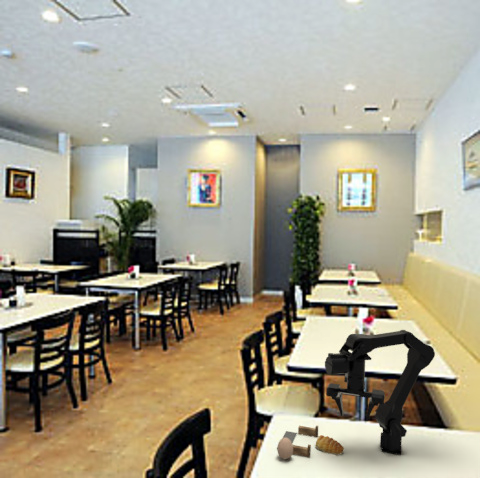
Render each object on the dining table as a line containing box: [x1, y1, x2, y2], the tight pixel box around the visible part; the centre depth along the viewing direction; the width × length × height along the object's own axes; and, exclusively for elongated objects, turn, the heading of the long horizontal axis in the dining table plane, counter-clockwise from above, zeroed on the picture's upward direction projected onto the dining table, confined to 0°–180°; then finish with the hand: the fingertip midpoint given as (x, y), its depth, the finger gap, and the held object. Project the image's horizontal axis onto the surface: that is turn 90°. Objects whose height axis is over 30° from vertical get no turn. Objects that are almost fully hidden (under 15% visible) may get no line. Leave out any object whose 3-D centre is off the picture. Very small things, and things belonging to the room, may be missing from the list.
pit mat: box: [282, 430, 298, 444], centre depth 163 cm, size 4×14×1 cm, turn 161°
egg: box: [276, 437, 294, 460], centre depth 151 cm, size 5×5×7 cm
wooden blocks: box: [292, 425, 319, 458], centre depth 161 cm, size 7×17×4 cm, turn 161°
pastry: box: [314, 434, 345, 455], centre depth 158 cm, size 9×7×4 cm
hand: (354, 418), depth 155 cm, fingers open, 8 cm apart
